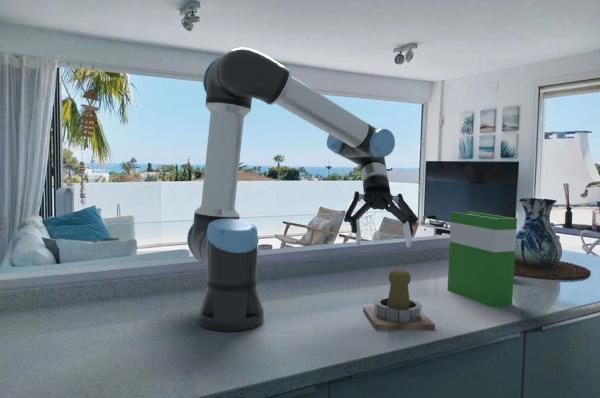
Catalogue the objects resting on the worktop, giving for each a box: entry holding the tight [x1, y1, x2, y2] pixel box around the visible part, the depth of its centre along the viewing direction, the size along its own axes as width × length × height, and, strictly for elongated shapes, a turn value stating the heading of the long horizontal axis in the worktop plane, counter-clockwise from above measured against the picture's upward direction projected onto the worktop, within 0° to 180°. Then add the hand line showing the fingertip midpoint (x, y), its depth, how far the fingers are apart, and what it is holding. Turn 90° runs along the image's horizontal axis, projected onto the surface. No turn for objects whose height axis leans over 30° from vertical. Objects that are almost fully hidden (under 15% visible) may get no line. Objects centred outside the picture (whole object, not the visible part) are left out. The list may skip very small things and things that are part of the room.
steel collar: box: [373, 296, 423, 323], centre depth 112 cm, size 11×11×3 cm
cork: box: [387, 269, 412, 309], centre depth 112 cm, size 6×6×11 cm
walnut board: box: [362, 306, 436, 331], centre depth 112 cm, size 14×13×1 cm
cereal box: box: [447, 211, 518, 308], centre depth 134 cm, size 18×7×24 cm, turn 23°
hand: (384, 243), depth 122 cm, fingers open, 13 cm apart
